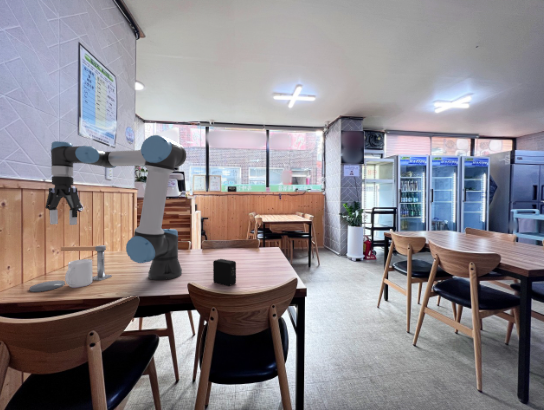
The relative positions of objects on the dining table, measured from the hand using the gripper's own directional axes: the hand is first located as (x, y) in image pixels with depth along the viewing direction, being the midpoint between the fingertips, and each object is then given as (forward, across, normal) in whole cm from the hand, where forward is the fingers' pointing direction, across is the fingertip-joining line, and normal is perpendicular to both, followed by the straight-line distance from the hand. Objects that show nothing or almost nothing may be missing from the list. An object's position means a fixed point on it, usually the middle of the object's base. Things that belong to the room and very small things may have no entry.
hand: (63, 224), depth 111 cm
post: (+26, -13, -7) cm, 30 cm away
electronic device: (+26, -73, -15) cm, 79 cm away
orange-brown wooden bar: (+13, -6, -5) cm, 15 cm away
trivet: (+26, -2, +8) cm, 27 cm away
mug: (+26, -13, +4) cm, 30 cm away
